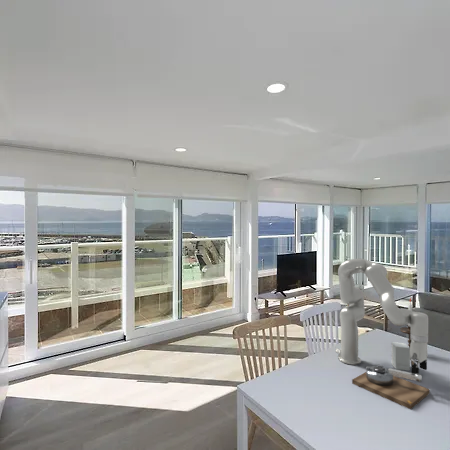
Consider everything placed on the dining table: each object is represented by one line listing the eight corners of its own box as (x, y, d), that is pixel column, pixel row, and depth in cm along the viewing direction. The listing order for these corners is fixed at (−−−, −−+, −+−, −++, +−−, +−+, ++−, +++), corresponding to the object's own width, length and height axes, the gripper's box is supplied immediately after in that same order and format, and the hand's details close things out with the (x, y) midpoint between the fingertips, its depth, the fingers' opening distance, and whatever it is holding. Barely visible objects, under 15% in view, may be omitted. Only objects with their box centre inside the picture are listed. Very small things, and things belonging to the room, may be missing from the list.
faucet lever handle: (365, 381, 151) (365, 368, 151) (367, 371, 161) (367, 359, 161) (422, 395, 139) (422, 381, 139) (421, 383, 149) (421, 370, 149)
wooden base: (352, 383, 153) (352, 379, 153) (373, 371, 166) (373, 367, 166) (410, 409, 132) (410, 404, 132) (429, 393, 144) (429, 388, 144)
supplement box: (410, 371, 167) (410, 347, 167) (395, 369, 168) (395, 346, 168) (405, 365, 174) (405, 342, 174) (391, 363, 176) (391, 341, 176)
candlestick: (424, 357, 185) (424, 299, 185) (406, 356, 185) (406, 299, 185) (413, 349, 196) (413, 295, 196) (396, 349, 196) (396, 295, 196)
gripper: (418, 332, 161) (418, 364, 161) (403, 339, 151) (403, 373, 151) (434, 336, 155) (434, 369, 155) (420, 343, 145) (420, 380, 145)
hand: (419, 371), depth 153 cm, fingers open, 9 cm apart
